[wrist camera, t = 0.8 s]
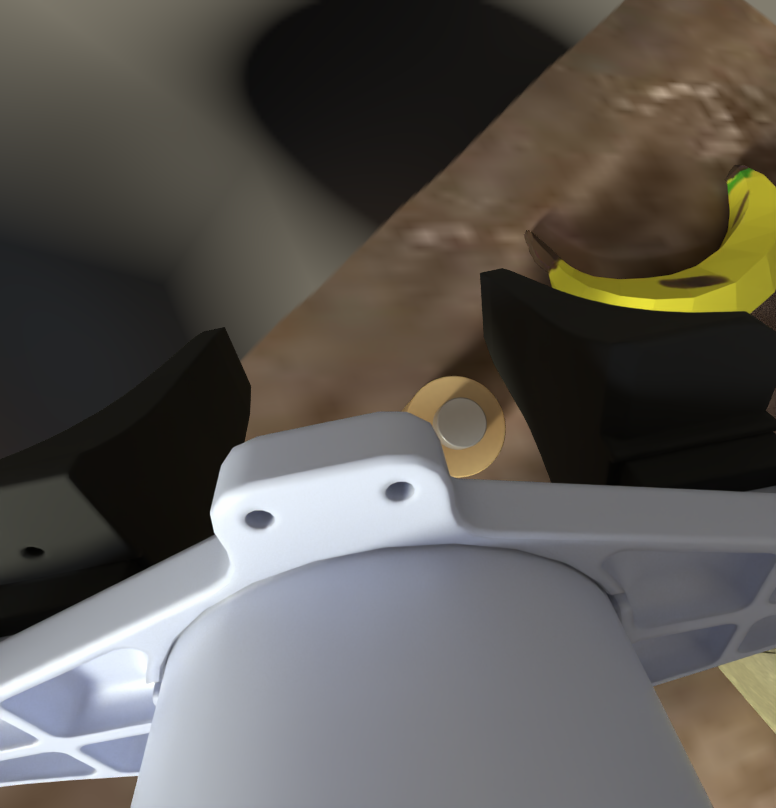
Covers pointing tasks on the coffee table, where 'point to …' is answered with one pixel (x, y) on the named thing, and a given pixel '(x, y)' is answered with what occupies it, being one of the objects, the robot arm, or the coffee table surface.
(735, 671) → the tissue dispenser
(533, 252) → the banana
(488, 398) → the pepper mill
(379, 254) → the coffee table surface
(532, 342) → the robot arm
